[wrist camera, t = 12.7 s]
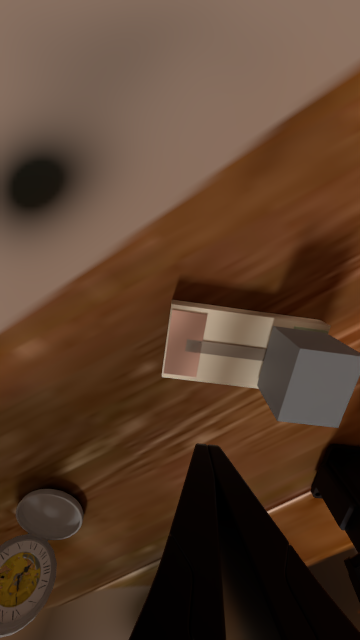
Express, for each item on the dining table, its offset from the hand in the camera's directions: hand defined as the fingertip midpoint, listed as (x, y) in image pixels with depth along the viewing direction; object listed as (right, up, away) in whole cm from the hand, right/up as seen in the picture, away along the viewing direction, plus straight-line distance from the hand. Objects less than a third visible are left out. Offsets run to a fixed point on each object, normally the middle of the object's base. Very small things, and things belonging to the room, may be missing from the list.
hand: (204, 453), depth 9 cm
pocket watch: (-15, -16, +17) cm, 28 cm away
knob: (+8, +2, +10) cm, 12 cm away
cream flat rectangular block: (+4, +3, +11) cm, 12 cm away
